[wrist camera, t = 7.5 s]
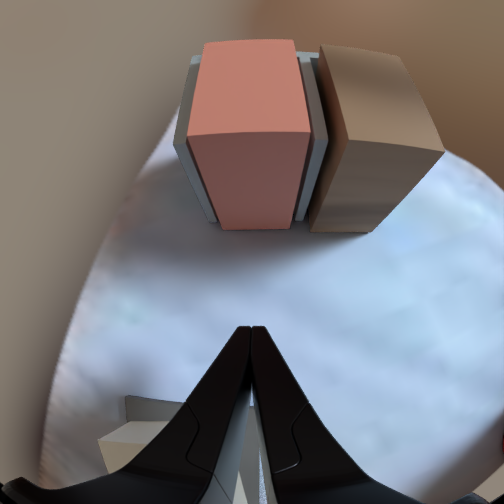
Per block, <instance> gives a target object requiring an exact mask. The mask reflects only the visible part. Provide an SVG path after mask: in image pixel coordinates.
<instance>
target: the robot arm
mask: <svg viewBox="0 0 504 504" xmlns="http://www.w3.org/2000/svg"><path fill="white" fill-rule="evenodd" d="M251 392H252V393H253V402H254V410H255V418H256V425H257V433H258V440H259V448H260V455H261V462H262V469H263V476H264V483H265V490H266V497H267V504H425V503H422V502H420V501H417V500H415V499H413V498H411V497H408V496H406V495H404V494H402V493H400V492H397V491H395V490H393V489H391V488H389V487H387V486H385V485H383V484H381V483H379V482H377V481H376V480H374V479H373V478H371V477H370V476H369V475H367V474H366V473H365V472H364V471H363V470H362V469H361V468H360V467H359V466H358V465H357V464H356V462H355V461H354V460H353V459H352V458H351V457H350V456H349V455H348V453H347V452H346V451H345V450H344V449H343V448H342V446H341V445H340V444H339V443H338V442H337V441H336V439H335V438H334V437H333V436H332V434H331V433H330V432H329V431H328V429H327V428H326V427H325V426H324V424H323V423H322V421H321V420H320V418H319V416H318V415H317V413H316V412H315V410H314V409H313V407H312V405H311V404H310V403H309V401H308V399H307V397H306V395H305V394H304V392H303V390H302V389H301V387H300V385H299V384H298V382H297V380H296V379H295V377H294V375H293V374H292V372H291V370H290V368H289V367H288V365H287V363H286V362H285V360H284V358H283V356H282V355H281V353H280V351H279V350H278V348H277V346H276V344H275V343H274V341H273V339H272V337H271V336H270V334H269V332H268V330H267V329H266V327H265V326H253V327H252V328H251V327H250V326H239V327H237V329H236V330H235V332H234V333H233V334H232V336H231V337H230V339H229V340H228V342H227V343H226V344H225V346H224V347H223V349H222V350H221V352H220V353H219V354H218V356H217V357H216V359H215V360H214V362H213V363H212V364H211V366H210V367H209V369H208V370H207V371H206V373H205V374H204V376H203V377H202V378H201V380H200V381H199V383H198V384H197V385H196V387H195V388H194V390H193V391H192V392H191V394H190V395H189V396H188V398H187V399H186V402H184V403H183V404H182V406H181V407H180V409H179V410H178V411H177V412H176V414H175V415H174V416H173V418H172V419H171V420H170V421H169V422H168V424H167V425H166V426H165V427H164V428H163V429H162V430H161V431H160V432H159V433H158V434H157V435H156V436H155V437H154V438H153V439H152V440H151V441H150V442H149V443H148V444H147V445H146V446H145V447H144V448H143V449H142V450H141V451H140V452H139V453H138V454H137V455H136V456H135V457H134V458H133V459H132V460H131V461H130V462H129V463H127V464H126V465H125V466H123V467H122V468H120V469H119V470H117V471H115V472H113V473H110V474H107V475H105V476H102V477H99V478H96V479H93V480H90V481H86V482H83V483H80V484H76V485H73V486H69V487H66V488H62V489H44V488H41V487H38V486H37V485H35V484H33V483H32V482H30V481H28V480H27V479H25V478H23V477H19V478H17V479H14V480H12V481H10V482H8V483H6V484H5V485H3V484H2V483H0V504H233V500H234V494H235V489H236V483H237V477H238V472H239V466H240V460H241V454H242V448H243V442H244V436H245V430H246V424H247V418H248V412H249V406H250V399H251ZM449 504H504V494H502V495H501V496H499V497H497V498H496V499H494V500H493V501H491V502H490V503H489V502H487V501H486V500H485V499H483V498H482V497H480V496H479V495H477V494H475V493H473V492H472V493H469V494H467V495H465V496H463V497H461V498H459V499H457V500H455V501H453V502H451V503H449Z"/></svg>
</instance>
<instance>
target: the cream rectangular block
mask: <svg viewBox="0 0 504 504" xmlns="http://www.w3.org/2000/svg"><path fill="white" fill-rule="evenodd" d="M168 422H169V421H130V422H128V423H126V424H125V425H123V426H121V427H120V428H118V429H116V430H114V431H113V432H111V433H109V434H107V435H105V436H104V437H102V438H100V439H98V444H99V447H100V450H101V453H102V456H103V459H104V462H105V465H106V468H107V471H108V473H109V474H110V473H113V472H115V471H117V470H119V469H120V468H122V467H123V466H125V465H126V464H127V463H129V462H130V461H131V460H132V459H133V458H134V457H135V456H136V455H137V454H138V453H139V452H140V451H141V450H142V449H143V448H144V447H145V446H146V445H147V444H148V443H149V442H150V441H151V440H152V439H153V438H154V437H155V436H156V435H157V434H158V433H159V432H160V431H161V430H162V429H163V428H164V427H165V426H166V425H167V424H168ZM233 504H248V503H247V500H246V496H245V492H244V489H243V485H242V481H241V477H240V474H239V472H238V477H237V483H236V489H235V494H234V500H233Z"/></svg>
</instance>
